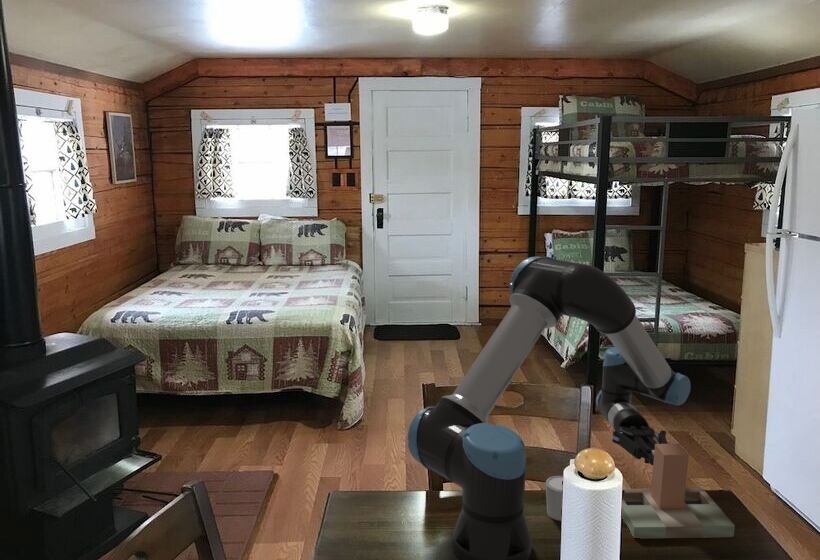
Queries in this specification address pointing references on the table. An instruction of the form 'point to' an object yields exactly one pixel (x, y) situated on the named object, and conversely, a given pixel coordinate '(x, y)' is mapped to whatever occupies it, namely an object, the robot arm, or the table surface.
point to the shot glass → (554, 496)
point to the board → (674, 516)
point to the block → (669, 475)
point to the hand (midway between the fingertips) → (666, 469)
